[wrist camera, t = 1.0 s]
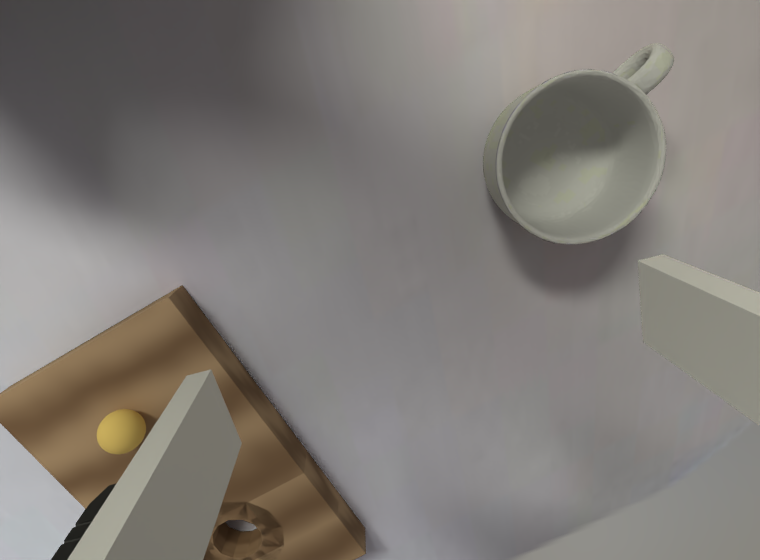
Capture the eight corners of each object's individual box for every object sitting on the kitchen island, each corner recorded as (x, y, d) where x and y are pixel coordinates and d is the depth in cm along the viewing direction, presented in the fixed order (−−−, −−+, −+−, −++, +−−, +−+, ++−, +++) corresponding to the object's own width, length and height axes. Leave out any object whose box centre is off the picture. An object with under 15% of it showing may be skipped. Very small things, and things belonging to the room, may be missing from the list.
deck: (9, 386, 40) (-17, 406, 37) (182, 285, 38) (168, 297, 35) (216, 602, 48) (208, 631, 46) (364, 528, 47) (365, 553, 44)
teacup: (522, 249, 39) (563, 277, 31) (440, 150, 36) (464, 154, 28) (660, 133, 37) (741, 133, 29) (585, 18, 34) (653, -16, 26)
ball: (102, 423, 38) (79, 450, 35) (121, 393, 37) (100, 418, 34) (141, 443, 39) (121, 471, 35) (160, 413, 38) (142, 439, 35)
